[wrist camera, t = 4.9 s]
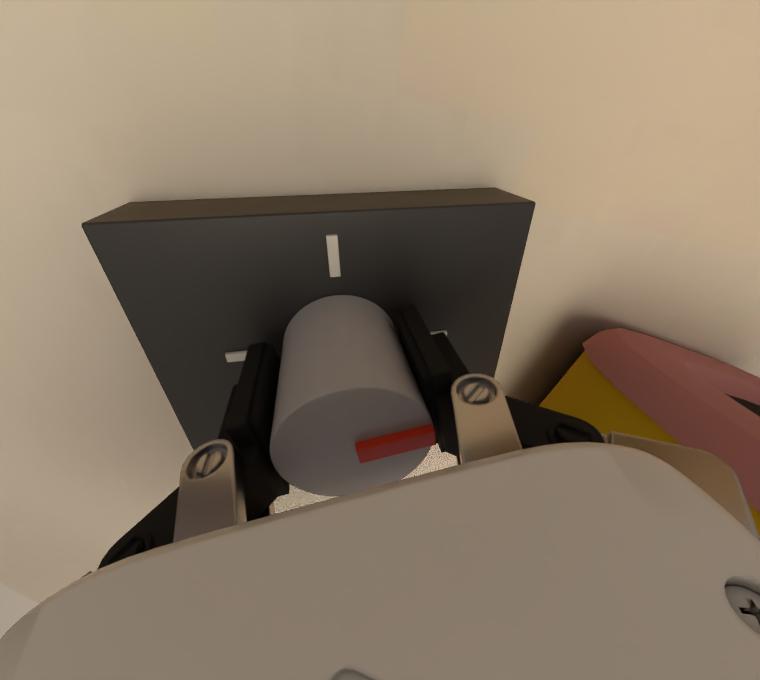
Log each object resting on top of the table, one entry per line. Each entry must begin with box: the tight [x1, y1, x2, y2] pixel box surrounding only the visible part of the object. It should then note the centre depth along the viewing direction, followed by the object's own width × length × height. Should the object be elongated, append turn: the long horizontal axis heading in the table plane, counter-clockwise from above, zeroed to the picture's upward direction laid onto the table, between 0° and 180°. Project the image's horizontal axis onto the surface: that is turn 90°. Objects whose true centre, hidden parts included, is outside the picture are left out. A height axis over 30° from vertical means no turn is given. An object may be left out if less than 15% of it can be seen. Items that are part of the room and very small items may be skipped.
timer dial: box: [270, 295, 436, 496], centre depth 11 cm, size 4×4×5 cm
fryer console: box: [82, 188, 535, 450], centre depth 14 cm, size 14×10×3 cm
